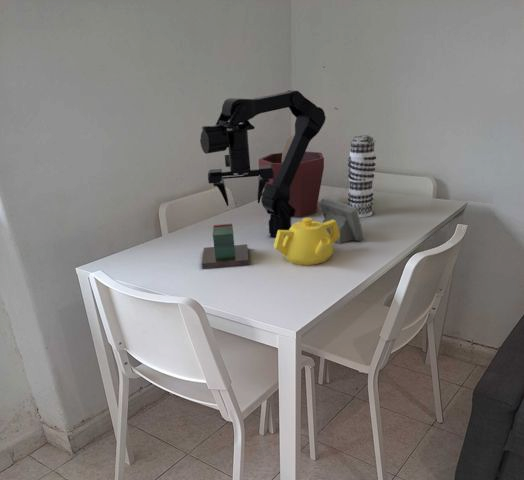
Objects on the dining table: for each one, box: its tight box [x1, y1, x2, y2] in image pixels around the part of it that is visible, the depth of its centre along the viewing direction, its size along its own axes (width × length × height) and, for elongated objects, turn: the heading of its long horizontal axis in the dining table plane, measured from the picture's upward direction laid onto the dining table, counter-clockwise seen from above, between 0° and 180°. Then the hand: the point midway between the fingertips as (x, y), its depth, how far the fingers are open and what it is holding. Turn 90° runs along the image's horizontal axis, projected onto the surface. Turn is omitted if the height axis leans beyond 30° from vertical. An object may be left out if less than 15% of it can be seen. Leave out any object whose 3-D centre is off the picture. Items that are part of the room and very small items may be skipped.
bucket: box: [258, 135, 325, 218], centre depth 173 cm, size 24×22×25 cm
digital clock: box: [319, 198, 365, 244], centre depth 150 cm, size 16×9×11 cm, turn 20°
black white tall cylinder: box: [346, 134, 377, 218], centre depth 165 cm, size 9×9×25 cm
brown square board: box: [201, 243, 250, 269], centre depth 142 cm, size 13×13×2 cm
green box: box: [212, 223, 235, 260], centre depth 140 cm, size 9×6×7 cm, turn 4°
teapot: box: [273, 217, 340, 266], centre depth 135 cm, size 20×18×11 cm
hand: (243, 204), depth 147 cm, fingers open, 9 cm apart
